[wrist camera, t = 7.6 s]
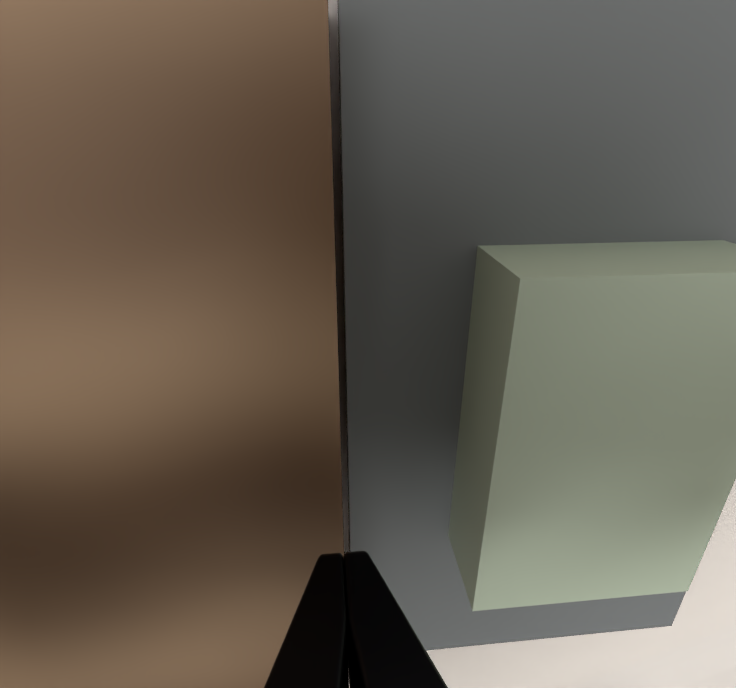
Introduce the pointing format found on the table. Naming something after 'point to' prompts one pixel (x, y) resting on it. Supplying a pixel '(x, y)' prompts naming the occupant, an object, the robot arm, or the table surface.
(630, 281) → the sage tile
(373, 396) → the charcoal mat
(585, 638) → the table surface
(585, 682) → the table surface
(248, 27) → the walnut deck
